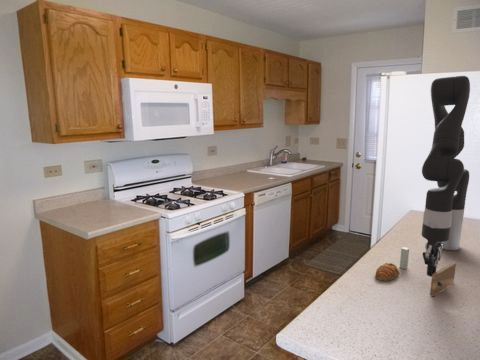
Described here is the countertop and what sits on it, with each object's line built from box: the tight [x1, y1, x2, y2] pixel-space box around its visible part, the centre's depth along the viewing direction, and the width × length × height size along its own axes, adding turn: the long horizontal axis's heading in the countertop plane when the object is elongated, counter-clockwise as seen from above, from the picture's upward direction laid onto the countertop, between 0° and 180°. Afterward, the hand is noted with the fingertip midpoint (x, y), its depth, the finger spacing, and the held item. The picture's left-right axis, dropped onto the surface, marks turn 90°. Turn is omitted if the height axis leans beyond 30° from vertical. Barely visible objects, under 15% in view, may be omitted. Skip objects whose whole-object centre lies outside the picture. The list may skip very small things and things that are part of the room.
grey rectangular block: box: [399, 246, 457, 270], centre depth 123 cm, size 2×17×8 cm, turn 45°
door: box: [429, 261, 457, 297], centre depth 112 cm, size 2×14×7 cm, turn 126°
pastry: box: [375, 262, 401, 282], centre depth 122 cm, size 9×7×4 cm
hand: (430, 275), depth 111 cm, fingers closed
